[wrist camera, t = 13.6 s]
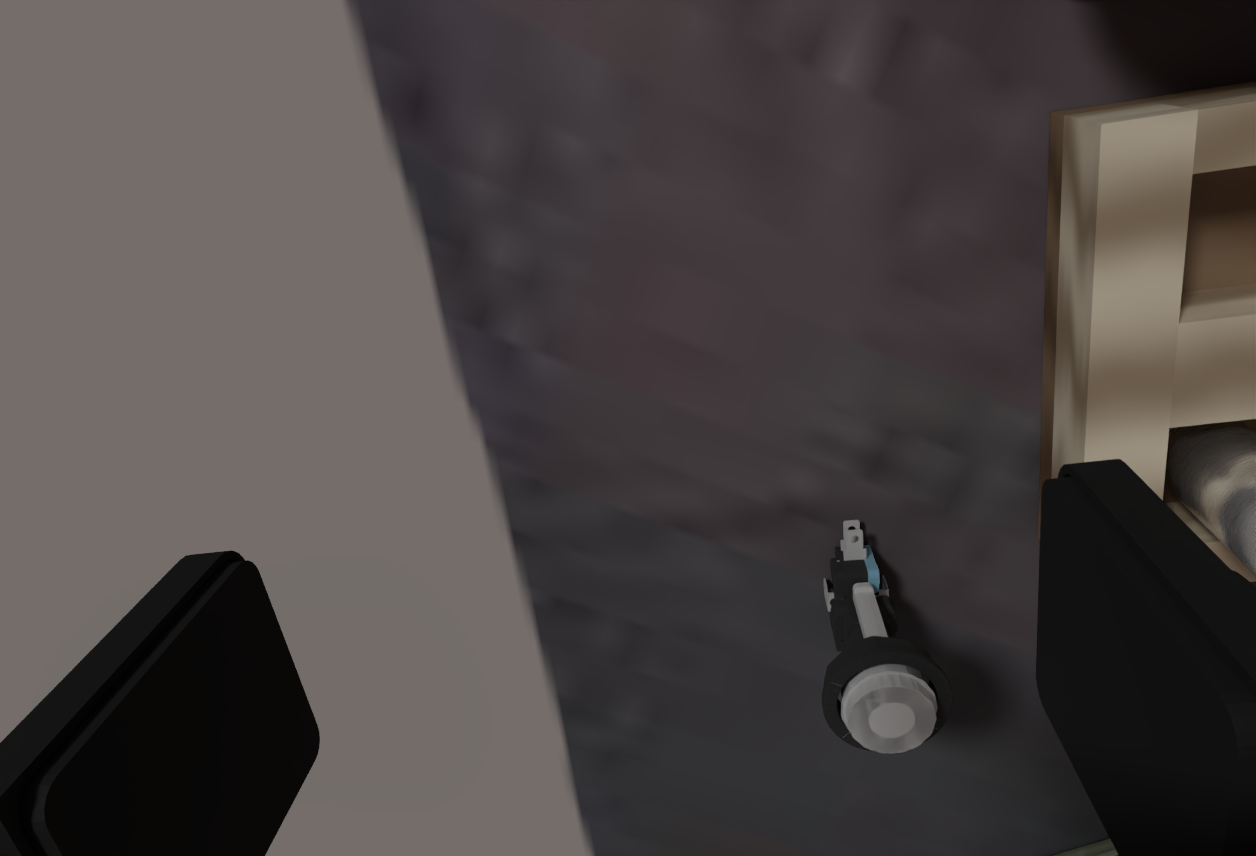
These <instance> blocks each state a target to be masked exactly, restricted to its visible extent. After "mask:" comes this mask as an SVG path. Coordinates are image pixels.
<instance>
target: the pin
mask: <svg viewBox="0 0 1256 856" xmlns="http://www.w3.org/2000/svg"><path fill="white" fill-rule="evenodd" d="M1164 485H1165V486H1166V487H1167V488H1168V489H1169V490H1170V491H1171V492H1172V493H1173V494H1174V495H1175V496H1176V497H1177V498H1178V499H1179V500H1180V501H1181V502H1182V503H1183V504H1184V505H1185V506H1186V507H1187V508H1188V509H1189V510H1190V511H1191V512H1192V513H1193V514H1194V515H1195V516H1196V517H1197V518H1198V519H1199V520H1200V521H1201V522H1202V523H1203V524H1204V525H1205V526H1206V527H1207V528H1208V529H1209V530H1210V531H1211V532H1212V533H1213V534H1214V535H1215V536H1216V537H1217V538H1218V539H1219V540H1220V541H1221V542H1222V543H1223V544H1224V545H1225V546H1226V547H1227V548H1228V549H1229V550H1230V551H1231V552H1232V553H1233V554H1234V555H1235V556H1236V557H1237V558H1238V559H1239V560H1240V561H1241V562H1242V563H1243V564H1244V565H1245V566H1246V567H1247V568H1248V569H1249V570H1250V571H1251V572H1252V573H1253V574H1254V575H1255V576H1256V432H1255V431H1254V430H1253V429H1251V428H1250V427H1248V426H1247V425H1246V424H1244V423H1243V422H1242V421H1240V420H1239V421H1230V422H1221V423H1211V424H1202V425H1193V426H1183V427H1174V428H1169V437H1168V448H1167V459H1166V470H1165V481H1164Z"/></svg>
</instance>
